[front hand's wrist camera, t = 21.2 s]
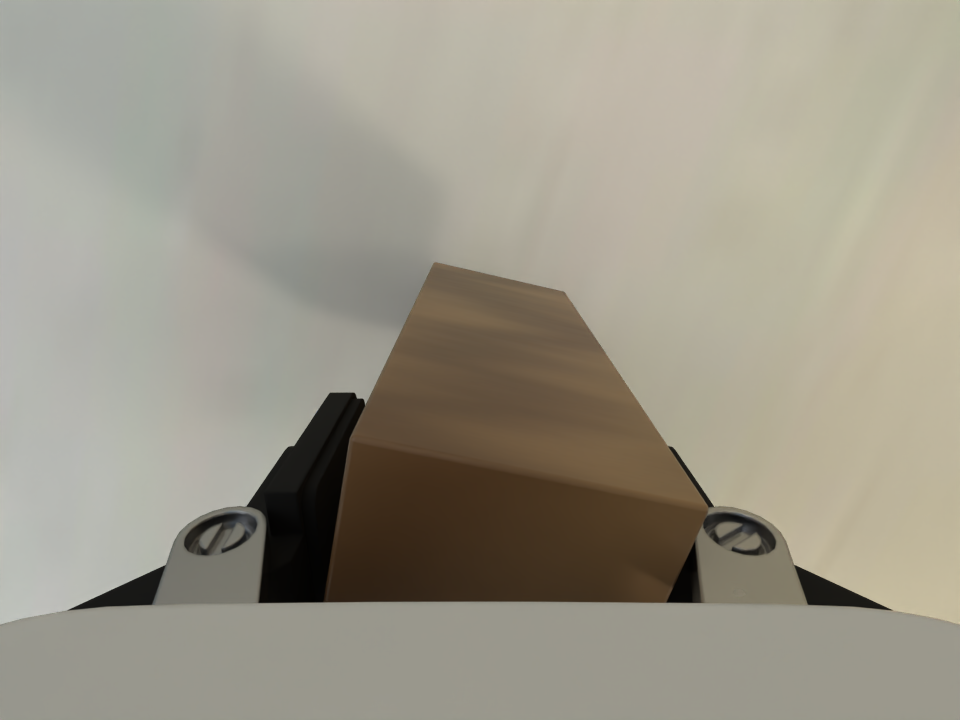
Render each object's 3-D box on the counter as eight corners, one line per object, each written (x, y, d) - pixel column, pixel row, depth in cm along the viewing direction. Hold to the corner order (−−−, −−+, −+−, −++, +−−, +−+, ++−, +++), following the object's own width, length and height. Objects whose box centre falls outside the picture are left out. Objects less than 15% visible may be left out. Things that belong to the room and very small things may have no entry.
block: (565, 291, 17) (713, 508, 6) (522, 439, 19) (577, 799, 8) (433, 261, 17) (348, 435, 6) (403, 415, 19) (297, 757, 8)
